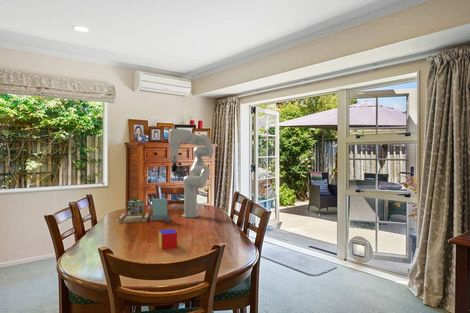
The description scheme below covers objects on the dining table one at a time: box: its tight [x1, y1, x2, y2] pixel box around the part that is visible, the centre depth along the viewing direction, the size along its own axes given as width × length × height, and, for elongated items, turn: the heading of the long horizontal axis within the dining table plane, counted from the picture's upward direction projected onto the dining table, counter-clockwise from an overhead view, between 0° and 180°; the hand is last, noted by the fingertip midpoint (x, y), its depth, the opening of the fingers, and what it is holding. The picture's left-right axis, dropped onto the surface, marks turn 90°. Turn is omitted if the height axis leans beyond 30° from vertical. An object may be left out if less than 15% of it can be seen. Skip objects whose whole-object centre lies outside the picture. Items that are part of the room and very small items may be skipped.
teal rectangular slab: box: [152, 198, 168, 216], centre depth 224 cm, size 2×10×15 cm, turn 101°
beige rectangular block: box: [124, 216, 143, 223], centre depth 218 cm, size 5×12×3 cm, turn 100°
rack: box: [118, 212, 150, 224], centre depth 223 cm, size 16×18×4 cm
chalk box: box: [126, 196, 145, 215], centre depth 242 cm, size 9×9×15 cm
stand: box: [149, 214, 171, 223], centre depth 224 cm, size 8×14×4 cm, turn 100°
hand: (174, 170), depth 219 cm, fingers open, 9 cm apart
